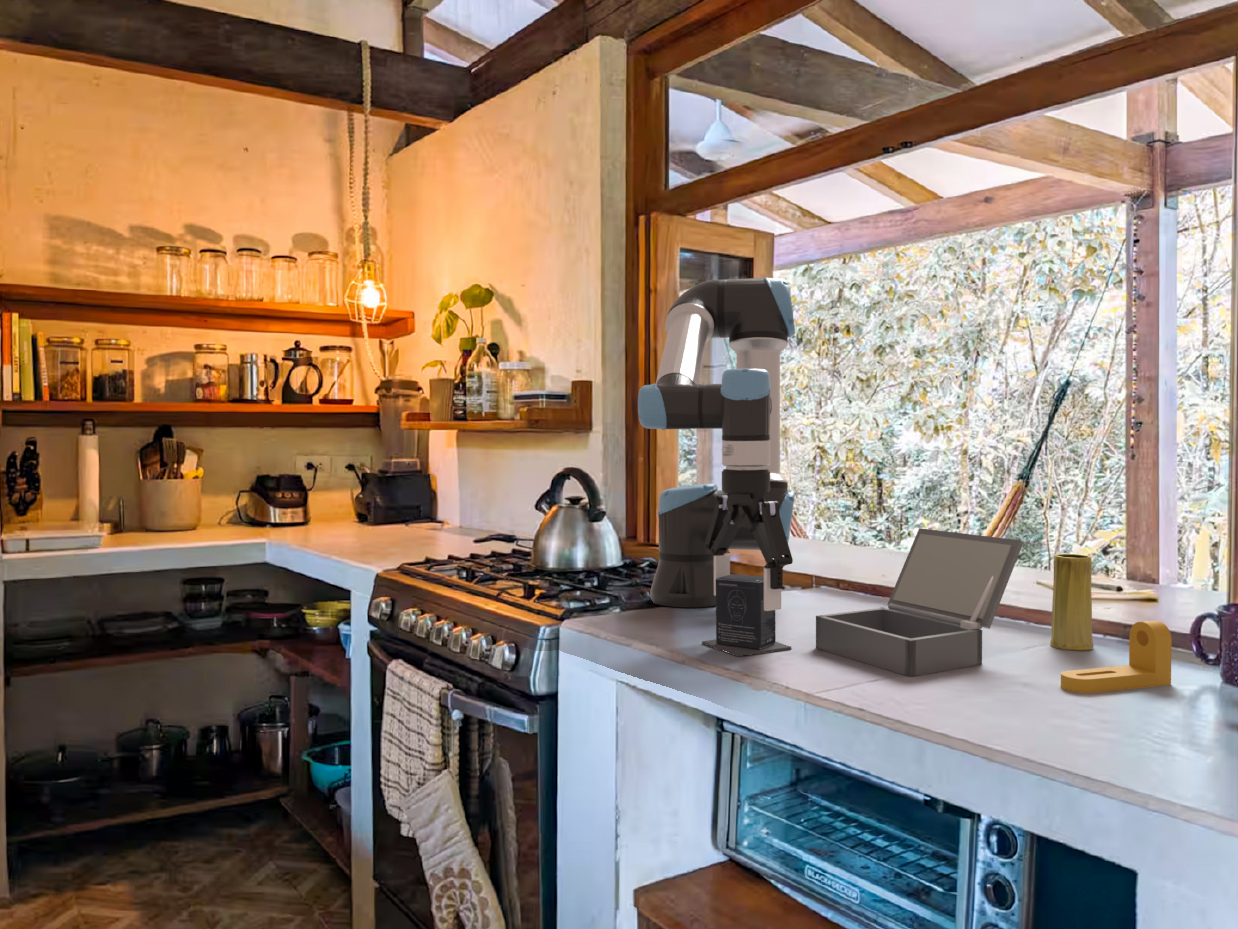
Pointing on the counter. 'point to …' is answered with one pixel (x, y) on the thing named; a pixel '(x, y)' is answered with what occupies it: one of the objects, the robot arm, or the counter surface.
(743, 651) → the mat
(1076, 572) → the vase
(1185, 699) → the counter surface
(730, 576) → the box
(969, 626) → the case
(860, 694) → the counter surface
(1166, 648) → the bracket
